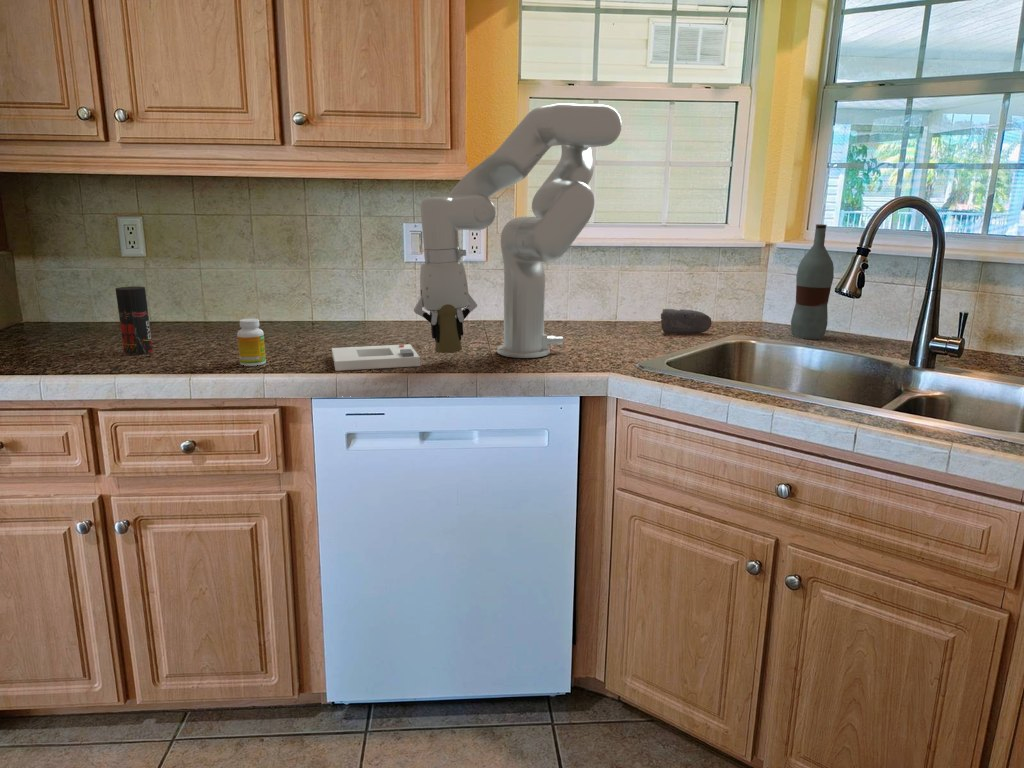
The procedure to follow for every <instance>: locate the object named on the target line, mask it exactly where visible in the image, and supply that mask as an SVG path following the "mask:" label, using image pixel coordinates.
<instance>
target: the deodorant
mask: <svg viewBox="0 0 1024 768" xmlns="http://www.w3.org/2000/svg"><path fill="white" fill-rule="evenodd" d="M146 292H147V291H146V287H144V286H133V285H132V286H121V287H116V288H115V296H116V303H117V312H118V317H119V318H118V319H119V325H120V331H121V340H122V346H123V353H124V355H125V354H126V355H125V356H142V354H144V355H148V353H149V354H152V353H153V352H154V349H153V343H152V342H153V341H152V340H153V339H152V331H151V326H150V325H151V324H150V318H149V308H148V301H147V294H146Z"/></svg>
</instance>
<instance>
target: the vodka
mask: <svg viewBox="0 0 1024 768" xmlns="http://www.w3.org/2000/svg"><path fill="white" fill-rule="evenodd" d="M827 226H828V225H827V224H819V223H818V224H815V230H814V240H813V244H812V246H811V247H810V249H809V250H808V251H807V253H806V254H805V255H804V256H803V258H802V259H801V260H800V262H799V265H798V267H797V272H796V275H795V276H796V279H795V280H796V281H795V283H796V287H795V288H796V289H795V305H794V307H793V308H794V309H793V312H792V315H791V320H790V333H791V336H792V335H793V336H795V337H799V338H798V339H800V338H805V339H804V340H809V339H819V340H823V339H824V337H825V334H826V331H827V327H828V321H829V320H828V318H829V317H828V304H829V300H830V295H831V289H832V284H833V281H834V276H835V275H834V274H835V273H834V272H835V271H834V270H835V268H834V262H833V260H832V257H831V256H830V254H829V252H828V250H827V248H826V246H825V242H826V241H825V240H826V230H827ZM793 336H792V337H793ZM795 337H794V338H795ZM822 338H823V339H822Z"/></svg>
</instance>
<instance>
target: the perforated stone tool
mask: <svg viewBox="0 0 1024 768" xmlns="http://www.w3.org/2000/svg"><path fill="white" fill-rule="evenodd" d="M660 319H661V320H660V323H661V329H662V331H663V333H665V334H673V335H694V334H702V333H705V332H707V331H708V330H710V329H711V327H712V321H713V320H712V318H711V317H710V316H709V315H707V314H706V313H703V312H701V311H698V310H693V309H683V308H682V309H673V308H663V309H662V312H661V313H660Z"/></svg>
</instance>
